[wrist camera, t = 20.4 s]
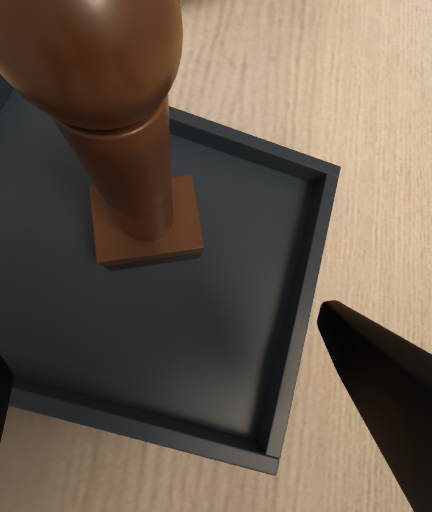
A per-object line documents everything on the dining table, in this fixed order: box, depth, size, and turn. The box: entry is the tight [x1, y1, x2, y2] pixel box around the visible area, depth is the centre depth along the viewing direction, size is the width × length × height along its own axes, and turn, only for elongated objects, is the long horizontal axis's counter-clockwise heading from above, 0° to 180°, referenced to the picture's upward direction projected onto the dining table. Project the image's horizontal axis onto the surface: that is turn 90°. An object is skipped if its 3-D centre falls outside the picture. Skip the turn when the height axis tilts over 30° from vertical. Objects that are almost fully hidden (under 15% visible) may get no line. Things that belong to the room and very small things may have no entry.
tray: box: [0, 74, 341, 476], centre depth 16 cm, size 18×22×2 cm
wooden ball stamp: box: [0, 0, 204, 271], centre depth 10 cm, size 5×4×14 cm
